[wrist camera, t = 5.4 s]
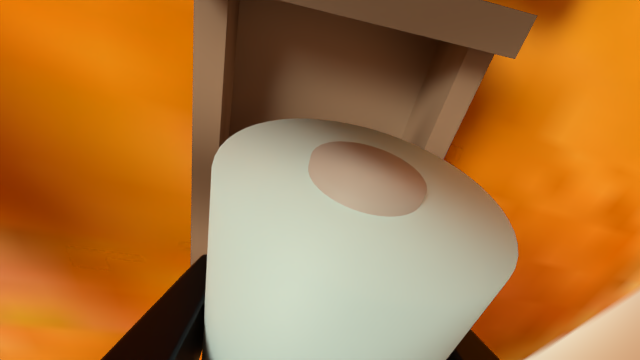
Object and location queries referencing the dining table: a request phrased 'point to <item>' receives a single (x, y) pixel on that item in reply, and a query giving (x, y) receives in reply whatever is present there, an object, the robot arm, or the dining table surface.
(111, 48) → the dining table surface
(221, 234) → the roll
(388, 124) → the tray
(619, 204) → the dining table surface
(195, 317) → the robot arm
